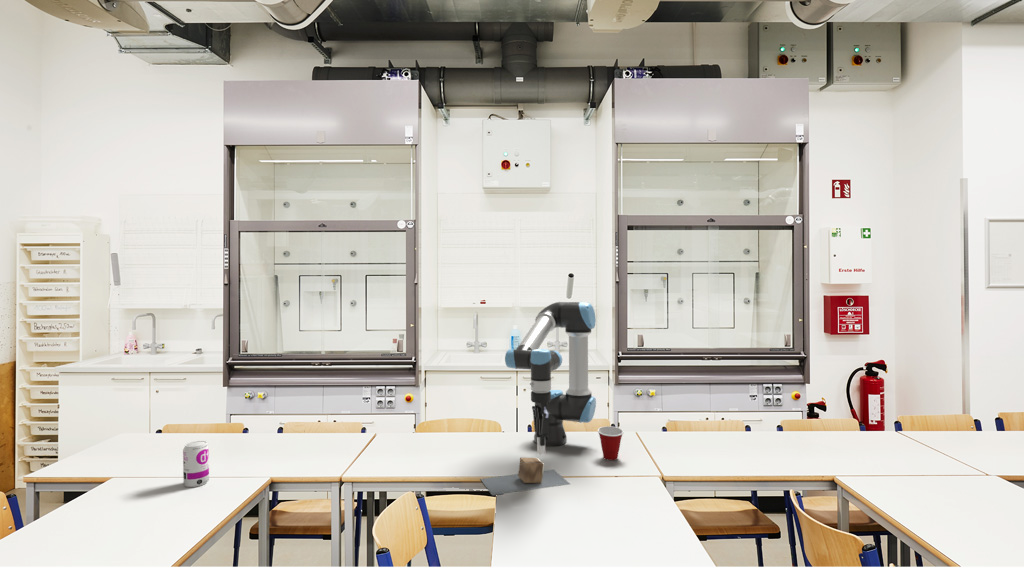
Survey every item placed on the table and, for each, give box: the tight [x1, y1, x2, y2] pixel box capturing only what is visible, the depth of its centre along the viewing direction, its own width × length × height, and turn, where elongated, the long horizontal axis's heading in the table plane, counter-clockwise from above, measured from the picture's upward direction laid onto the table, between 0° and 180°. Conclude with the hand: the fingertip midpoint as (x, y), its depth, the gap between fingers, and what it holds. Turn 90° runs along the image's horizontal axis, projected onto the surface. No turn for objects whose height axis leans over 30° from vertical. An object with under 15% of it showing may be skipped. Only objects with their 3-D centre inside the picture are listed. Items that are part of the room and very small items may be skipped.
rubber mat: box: [479, 469, 571, 496], centre depth 204 cm, size 30×16×1 cm, turn 108°
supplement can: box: [182, 440, 210, 488], centre depth 204 cm, size 8×8×15 cm
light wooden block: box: [517, 457, 545, 483], centre depth 204 cm, size 7×7×7 cm
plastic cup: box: [597, 425, 624, 461], centre depth 230 cm, size 11×11×12 cm
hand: (541, 453), depth 206 cm, fingers closed
